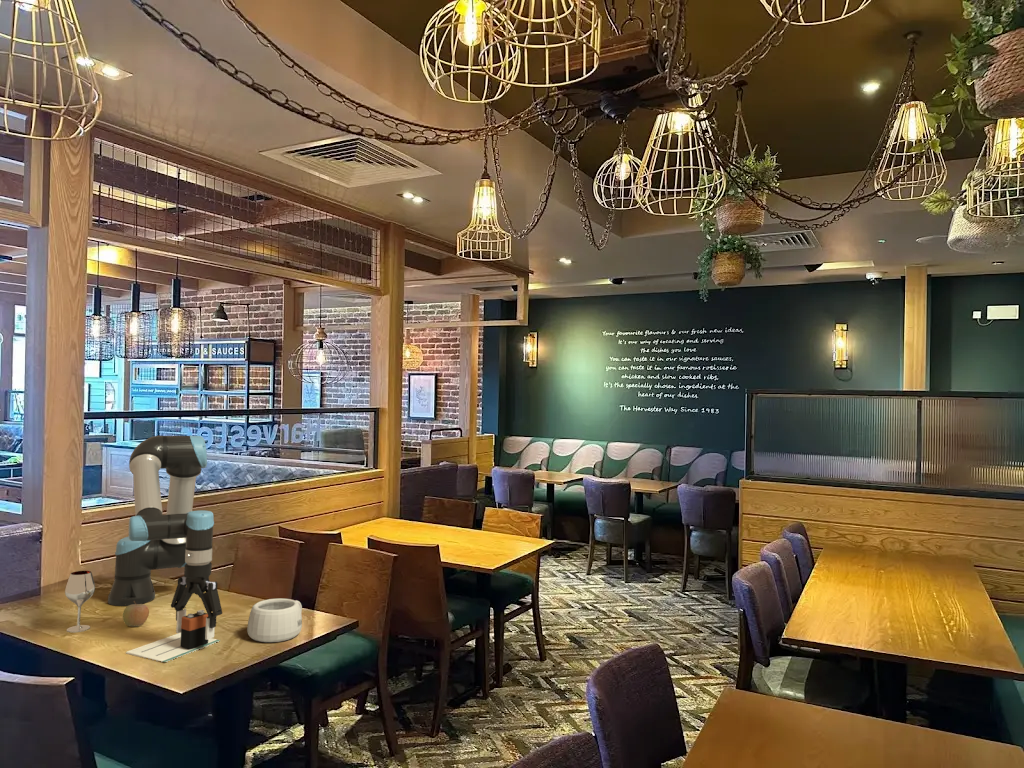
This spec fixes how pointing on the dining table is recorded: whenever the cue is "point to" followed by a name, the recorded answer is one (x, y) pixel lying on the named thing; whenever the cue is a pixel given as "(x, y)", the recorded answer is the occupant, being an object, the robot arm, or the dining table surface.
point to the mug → (275, 620)
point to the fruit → (135, 614)
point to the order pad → (166, 649)
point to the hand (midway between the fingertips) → (195, 635)
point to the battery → (193, 630)
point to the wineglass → (79, 594)
